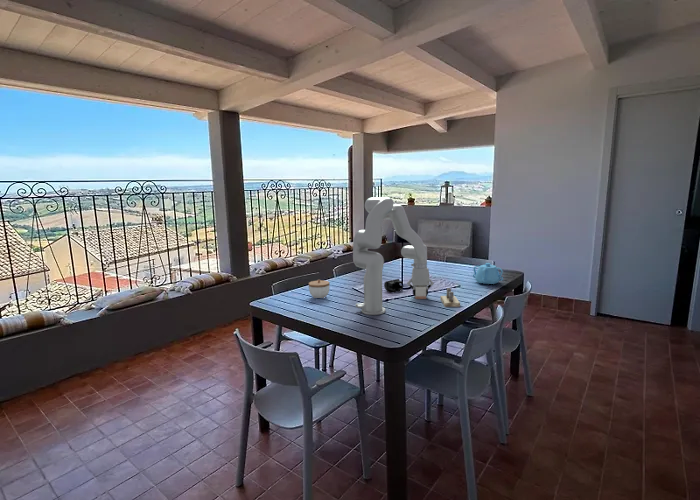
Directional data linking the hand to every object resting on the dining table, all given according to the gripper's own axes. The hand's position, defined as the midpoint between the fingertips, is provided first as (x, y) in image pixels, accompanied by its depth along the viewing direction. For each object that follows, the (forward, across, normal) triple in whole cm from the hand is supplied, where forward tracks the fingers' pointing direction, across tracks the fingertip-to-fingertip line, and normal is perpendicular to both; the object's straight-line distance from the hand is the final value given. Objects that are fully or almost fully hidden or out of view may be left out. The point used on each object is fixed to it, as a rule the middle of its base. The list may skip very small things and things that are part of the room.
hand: (420, 295), depth 214 cm
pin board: (+1, +15, -11) cm, 19 cm away
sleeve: (+1, 0, 0) cm, 1 cm away
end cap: (+1, -15, +16) cm, 22 cm away
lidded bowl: (+1, -60, +1) cm, 60 cm away
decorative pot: (+1, +48, +34) cm, 58 cm away
